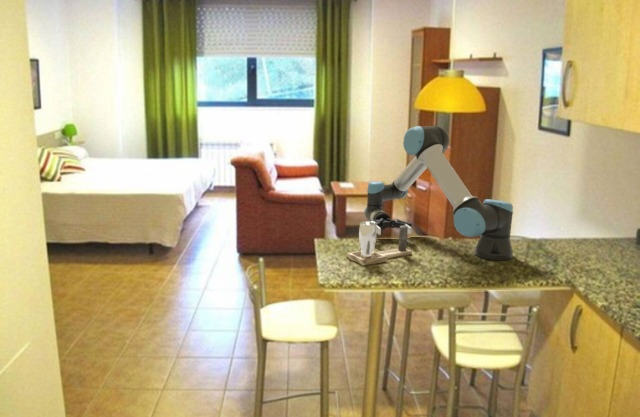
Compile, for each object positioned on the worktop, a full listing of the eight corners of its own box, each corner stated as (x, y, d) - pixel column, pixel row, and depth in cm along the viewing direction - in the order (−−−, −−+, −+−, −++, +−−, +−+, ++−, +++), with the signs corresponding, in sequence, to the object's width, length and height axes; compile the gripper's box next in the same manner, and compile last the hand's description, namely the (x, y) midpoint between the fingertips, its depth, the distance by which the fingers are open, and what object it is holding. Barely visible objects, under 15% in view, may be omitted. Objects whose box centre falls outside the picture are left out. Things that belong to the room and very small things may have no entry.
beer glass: (363, 263, 233) (365, 225, 230) (354, 258, 239) (356, 221, 236) (378, 261, 236) (380, 224, 233) (369, 256, 242) (371, 220, 239)
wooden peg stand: (416, 256, 244) (418, 228, 241) (363, 265, 230) (364, 236, 227) (399, 249, 253) (400, 222, 251) (346, 257, 239) (347, 229, 237)
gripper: (405, 226, 278) (422, 239, 258) (353, 228, 273) (366, 240, 253) (406, 211, 277) (423, 222, 256) (354, 212, 272) (367, 223, 251)
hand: (395, 231), depth 255 cm, fingers open, 13 cm apart
